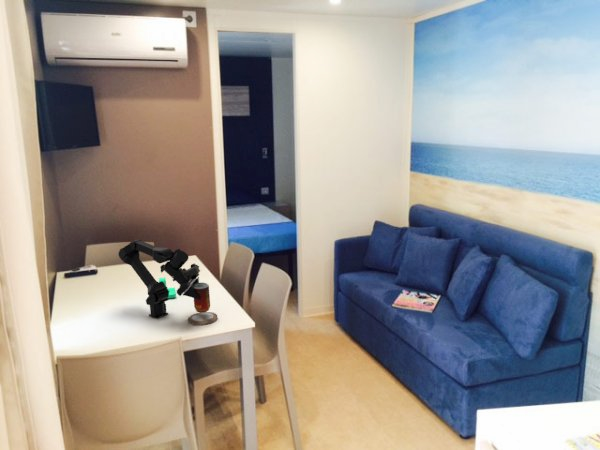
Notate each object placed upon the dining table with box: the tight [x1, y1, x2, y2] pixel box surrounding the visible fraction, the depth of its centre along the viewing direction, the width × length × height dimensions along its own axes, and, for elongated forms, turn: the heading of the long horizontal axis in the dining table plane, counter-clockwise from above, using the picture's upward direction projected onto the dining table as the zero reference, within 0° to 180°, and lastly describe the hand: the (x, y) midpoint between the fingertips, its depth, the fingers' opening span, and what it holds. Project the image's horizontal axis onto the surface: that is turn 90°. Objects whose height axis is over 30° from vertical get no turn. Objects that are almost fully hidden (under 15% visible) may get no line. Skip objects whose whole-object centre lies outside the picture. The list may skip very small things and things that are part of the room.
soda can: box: [193, 282, 211, 313], centre depth 225 cm, size 7×7×12 cm
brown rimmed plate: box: [187, 311, 218, 326], centre depth 227 cm, size 13×13×1 cm
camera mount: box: [158, 277, 177, 299], centre depth 260 cm, size 12×8×10 cm, turn 16°
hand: (202, 295), depth 225 cm, fingers closed on soda can, 7 cm apart
